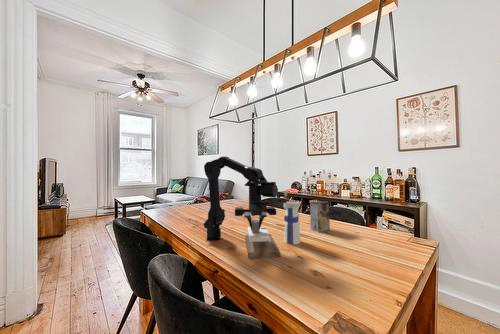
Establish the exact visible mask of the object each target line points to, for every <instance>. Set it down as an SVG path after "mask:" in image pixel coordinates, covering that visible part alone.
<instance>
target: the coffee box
mask: <svg viewBox="0 0 500 334" xmlns="http://www.w3.org/2000/svg"><path fill="white" fill-rule="evenodd" d="M309 208H310V209H309V210H310V211H309V213H310V215H309V217H310V223H309V224H310V231H314V232H316V233H321V232H322V233H323V232H326V231H330V230H331V227H330V225H331V222H330V221H331V220H330V215H331V214H330V202H329V201H324V200H317V201H316V200H315V201H310V202H309Z"/></svg>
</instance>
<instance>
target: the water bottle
mask: <svg viewBox="0 0 500 334" xmlns="http://www.w3.org/2000/svg"><path fill="white" fill-rule="evenodd" d="M288 193H289V191H287V190H285V192H283V194H284V197H288ZM299 207H301V203H300V201H293V200H289V201H288V200H287V201H286V202H284V203H283V209H284V210H285V212H284V216H283V219H284V220H283V221H284V222H285V223H284V243H286V244H288V245H291V246H292V245H293V246H294V245H300V244H301V234H300V233H301V231H300V229H301V228H300V227H301V226H300V222H299V221H300V220H299V217H300V213H299Z"/></svg>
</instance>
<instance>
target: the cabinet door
mask: <svg viewBox="0 0 500 334" xmlns="http://www.w3.org/2000/svg"><path fill="white" fill-rule="evenodd" d="M251 222H252V230H251V227H250V226H248V227H247V235H249V241H250V242H259V241H271V237H270V236H269V234H270V233H269V231H268V229H267V227H266V226H261V227H260V230H259V219H251Z"/></svg>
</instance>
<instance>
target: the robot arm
mask: <svg viewBox="0 0 500 334" xmlns="http://www.w3.org/2000/svg"><path fill="white" fill-rule="evenodd" d="M225 167H227V168H229V169H230V170H233V171H235V172H237V173H239V174H241V175H242V176H243V177H244V178H245V179H246V180H248V181H247V182H246V183H245V184H244V187H248V208H246V209H245V208H244V207H242V206H241V207H235V208H234V216H236V217H242V216H243V217H244V218H246V219H247V221H248V224H249V227H251V230H252V216H253V217H255V216H258V221H259V230H260V227H262V223H263V221H264V219H265V218H267V217H268V215H269V216H276V215H277V209H276V208H275V207H274V206H267V203H262V197H264V198H277V196H278V193H279V188H278V185H277V184H276V183H277V182H276V181H268V180H267V179H266V178H265V176H264V173H263V170H262V169H261V168H257V167H253V166H247V165H245V164H243V163H240V162H239V161H236V160H234V159H232V158H231V157H228V156H221V157H219V158H216V159H213V160H211V161H207V162H206V163H205V164H204V166H203V170H204V173H205V177H206V178H207V180H208V186H209V187H208V190H209V191H208V192H209V193H208V194H209V203H210V204H209V205H210V208H209V210H208V213H207V219H206V220H205V222H204V223H203V227H204V229H206V238H205V239H206V241H220V239H221V237H222V232H221V230H222V228H221V227H220V226H222V225H223V223H224V221H225V218H226V215H225V211H226V210H225V209H223V208H222V207H221V198H220V186H219V177H220V175H221V169H223V168H225ZM267 214H268V215H267Z"/></svg>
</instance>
